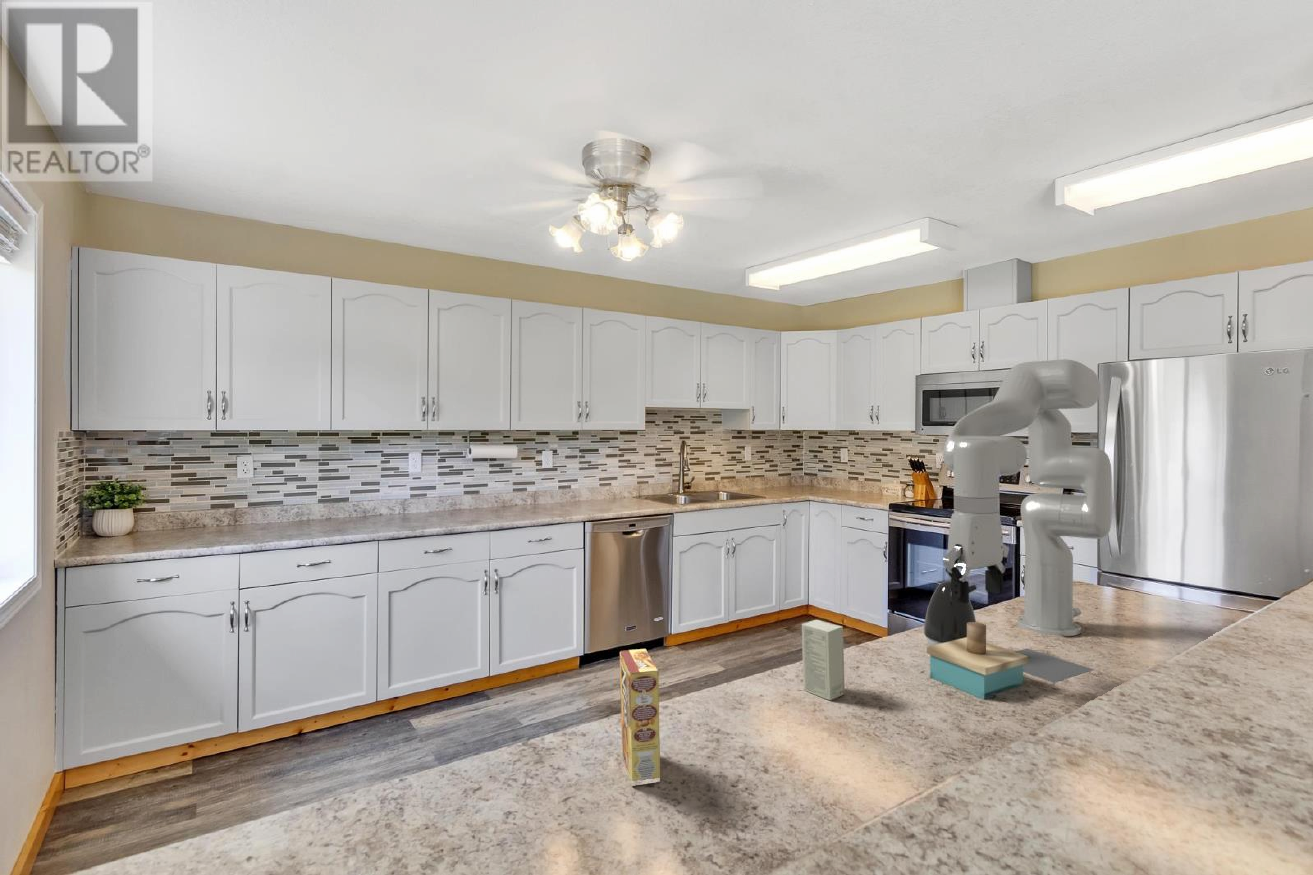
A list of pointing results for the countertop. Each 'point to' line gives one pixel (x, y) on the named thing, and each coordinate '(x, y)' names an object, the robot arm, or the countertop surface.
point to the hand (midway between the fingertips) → (977, 597)
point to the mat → (1050, 666)
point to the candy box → (640, 714)
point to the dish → (975, 678)
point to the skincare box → (823, 659)
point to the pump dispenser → (947, 616)
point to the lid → (977, 652)
